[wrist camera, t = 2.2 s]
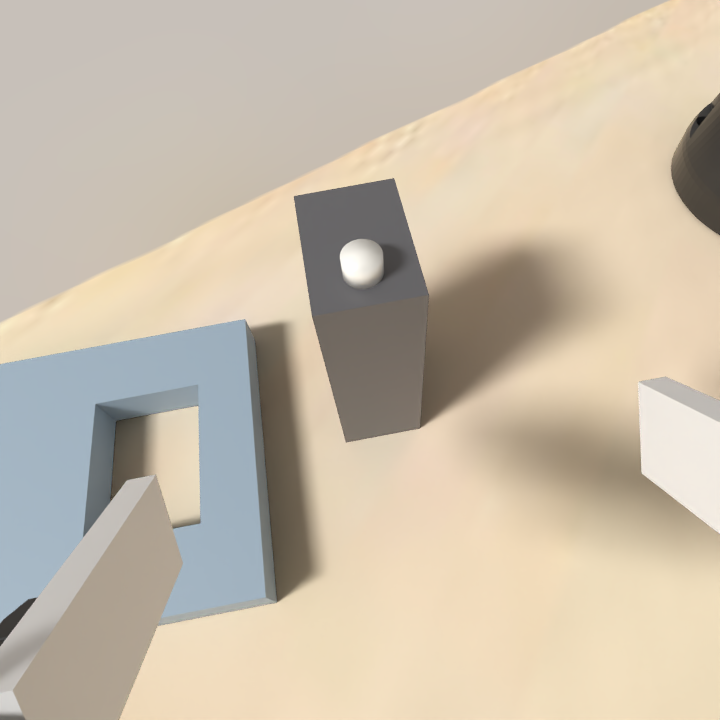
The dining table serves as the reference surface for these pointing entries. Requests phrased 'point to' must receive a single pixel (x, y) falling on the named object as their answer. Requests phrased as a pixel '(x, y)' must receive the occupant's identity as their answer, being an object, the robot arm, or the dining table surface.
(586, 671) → the dining table surface
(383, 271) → the servo block
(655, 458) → the robot arm
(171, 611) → the plate
